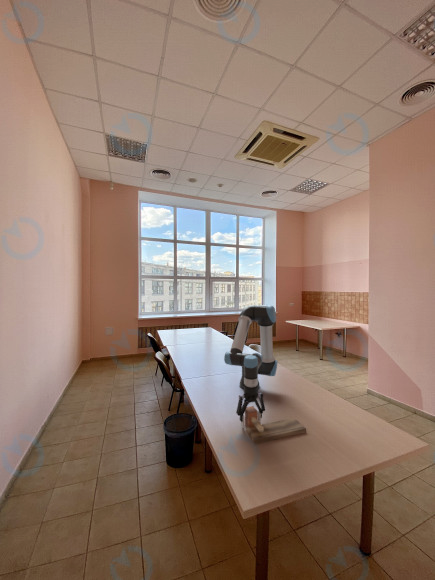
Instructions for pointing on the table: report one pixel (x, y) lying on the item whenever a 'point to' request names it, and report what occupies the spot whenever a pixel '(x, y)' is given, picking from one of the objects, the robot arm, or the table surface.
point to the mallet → (252, 419)
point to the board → (276, 430)
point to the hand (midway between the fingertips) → (250, 425)
